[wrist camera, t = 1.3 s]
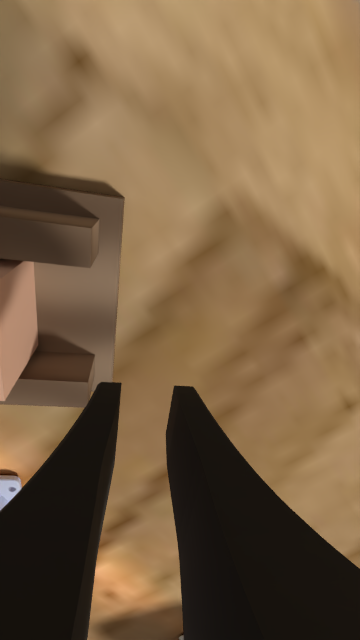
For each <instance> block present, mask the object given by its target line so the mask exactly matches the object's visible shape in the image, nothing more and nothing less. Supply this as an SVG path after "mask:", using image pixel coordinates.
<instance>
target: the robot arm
mask: <svg viewBox="0 0 360 640" xmlns="http://www.w3.org/2000/svg"><path fill="white" fill-rule="evenodd" d="M120 394H121V383H114V382H100V383H99V384H98V385H97V387H96V389H95V391H94V393H93V395H92V397H91V399H90V400H89V402H88V404H87V405H86V407H85V408H84V410H83V412H82V413H81V415H80V416H79V418H78V419H77V420H76V422H75V423H74V425H73V426H72V428H71V429H70V431H69V432H68V433H67V435H66V436H65V437H64V439H63V440H62V441H61V443H60V444H59V445H58V446H57V448H56V449H55V450H54V451H53V453H52V454H51V455H50V457H49V458H48V459H47V460H46V461H45V463H44V464H43V465H42V466H41V467H40V469H39V470H38V471H37V472H36V473H35V474H34V475H33V477H32V478H31V479H30V480H29V481H28V482H27V483H26V484H25V485H24V486H23V488H22V487H21V480H20V478H19V477H17V476H13V475H0V640H87V637H88V628H89V619H90V610H91V602H92V593H93V584H94V576H95V567H96V560H97V553H98V547H99V541H100V536H101V531H102V526H103V520H104V515H105V510H106V505H107V500H108V494H109V489H110V484H111V479H112V474H113V468H114V462H115V452H116V442H117V431H118V419H119V406H120ZM166 454H167V469H168V477H169V484H170V491H171V498H172V505H173V512H174V519H175V526H176V533H177V541H178V550H179V560H180V576H181V594H182V612H183V633H184V640H360V569H359V568H358V567H357V566H355V565H354V564H353V563H352V562H351V561H349V560H348V559H347V558H346V557H345V556H343V555H342V554H341V553H340V552H338V551H337V550H336V549H335V548H334V547H333V546H331V545H330V544H329V543H328V542H327V541H326V540H324V539H323V538H322V537H321V536H320V535H319V534H318V533H317V532H315V531H314V530H313V529H312V528H311V527H310V526H309V525H308V524H307V523H306V522H305V521H304V520H302V519H301V518H300V517H299V516H298V515H297V514H296V513H295V512H294V511H293V510H292V509H290V508H289V507H288V506H287V505H286V504H285V503H284V502H283V501H282V500H281V499H280V498H279V497H278V496H277V495H276V494H275V492H274V491H273V490H272V489H271V488H270V487H269V486H268V485H267V484H266V483H265V482H264V481H263V480H262V479H261V477H260V476H259V475H258V474H257V473H256V472H255V471H254V469H253V468H252V467H251V466H250V465H249V464H248V462H247V461H246V460H245V459H244V457H243V456H242V455H241V454H240V453H239V451H238V450H237V449H236V448H235V446H234V445H233V444H232V442H231V441H230V440H229V438H228V437H227V436H226V434H225V433H224V432H223V430H222V429H221V427H220V426H219V425H218V423H217V422H216V420H215V419H214V418H213V416H212V415H211V413H210V412H209V410H208V409H207V407H206V405H205V404H204V402H203V401H202V399H201V398H200V396H199V394H198V393H197V391H196V390H195V389H194V387H190V386H174V390H173V395H172V401H171V407H170V413H169V418H168V424H167V430H166Z"/></svg>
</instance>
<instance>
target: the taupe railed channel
mask: <svg viewBox="0 0 360 640" xmlns="http://www.w3.org/2000/svg"><path fill="white" fill-rule="evenodd" d="M123 212H124V197H119V196H112V195H105V194H99V193H92V192H85V191H78V190H72V189H65V188H58V187H51V186H45V185H38V184H31V183H25V182H18V181H11V180H4V179H0V258H2V259H11V260H20V261H29V262H34V277H35V294H36V311H37V328H38V346H37V348H36V350H35V351H34V353H33V355H32V356H31V358H30V360H29V361H28V363H27V365H26V366H25V368H24V370H23V371H22V373H21V375H20V376H19V378H18V380H17V381H16V383H15V385H14V386H13V388H12V390H11V391H10V393H9V395H8V396H7V398H6V400H5V401H0V404H7V405H33V406H58V407H84V408H85V407H86V405H87V404H88V402H89V398H90V394H91V391H95V389H96V387H97V385H98V384H99V383H100V382H112V380H113V365H114V350H115V335H116V319H117V304H118V289H119V273H120V258H121V243H122V227H123Z"/></svg>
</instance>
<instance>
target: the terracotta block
mask: <svg viewBox="0 0 360 640" xmlns="http://www.w3.org/2000/svg"><path fill="white" fill-rule="evenodd" d="M37 346H38V328H37V311H36V294H35V277H34V262H29V261H20V260H11V259H2V258H0V401H5V400H6V398H7V396H8V395H9V393H10V391H11V390H12V388H13V386H14V385H15V383H16V381H17V380H18V378H19V376H20V375H21V373H22V371H23V370H24V368H25V366H26V365H27V363H28V361H29V360H30V358H31V356H32V355H33V353H34V351H35V350H36V348H37Z"/></svg>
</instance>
